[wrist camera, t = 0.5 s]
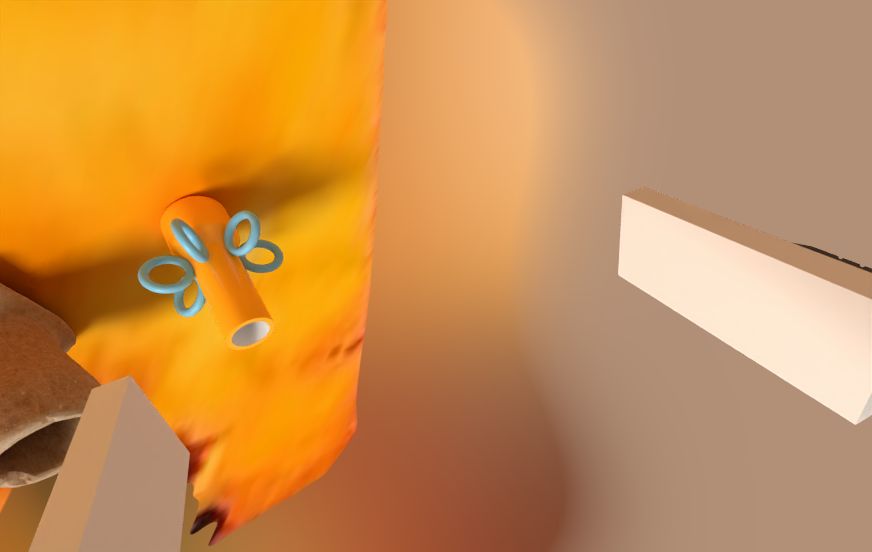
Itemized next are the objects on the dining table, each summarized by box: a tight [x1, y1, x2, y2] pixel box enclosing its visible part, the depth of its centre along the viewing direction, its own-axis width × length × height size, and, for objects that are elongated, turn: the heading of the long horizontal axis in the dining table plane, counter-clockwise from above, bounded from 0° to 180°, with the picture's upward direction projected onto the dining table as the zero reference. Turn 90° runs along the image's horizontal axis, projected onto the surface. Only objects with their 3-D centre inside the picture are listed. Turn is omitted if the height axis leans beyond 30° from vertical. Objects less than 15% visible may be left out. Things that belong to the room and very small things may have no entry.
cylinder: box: [138, 196, 283, 350], centre depth 40 cm, size 12×10×15 cm
